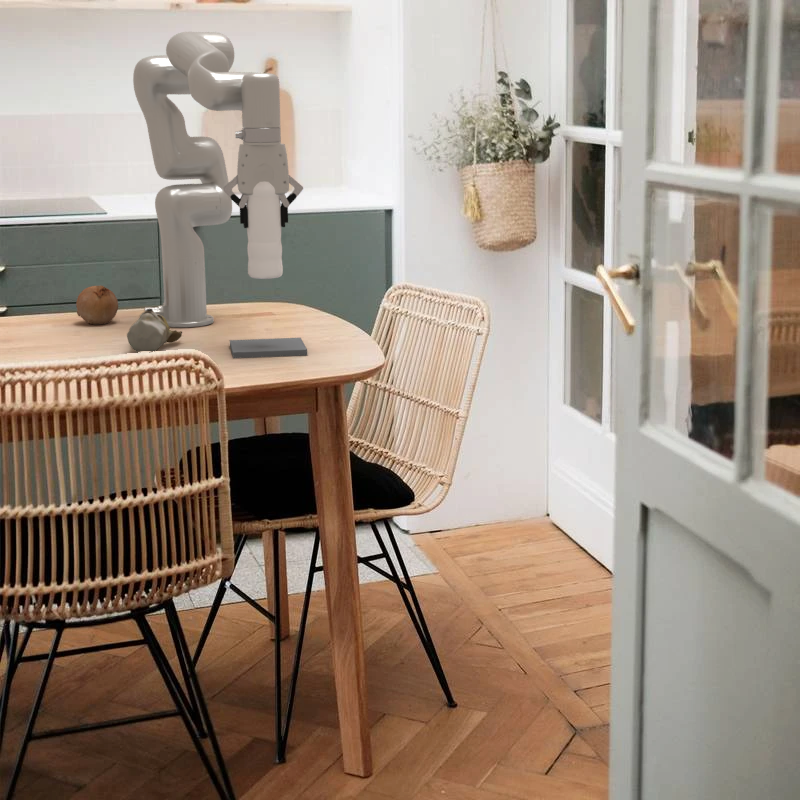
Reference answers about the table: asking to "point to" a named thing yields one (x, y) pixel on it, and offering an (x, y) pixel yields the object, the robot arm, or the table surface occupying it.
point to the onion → (97, 305)
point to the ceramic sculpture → (151, 332)
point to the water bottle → (264, 233)
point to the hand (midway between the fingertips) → (264, 226)
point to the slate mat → (267, 347)
